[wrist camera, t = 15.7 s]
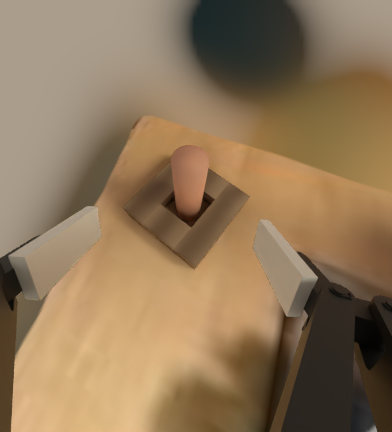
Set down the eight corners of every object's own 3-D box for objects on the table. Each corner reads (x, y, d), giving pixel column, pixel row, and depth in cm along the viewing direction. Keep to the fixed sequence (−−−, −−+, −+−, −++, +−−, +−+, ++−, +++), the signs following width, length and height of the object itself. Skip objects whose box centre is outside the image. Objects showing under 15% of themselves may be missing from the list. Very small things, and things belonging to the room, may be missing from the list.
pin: (204, 208, 31) (217, 158, 19) (190, 225, 30) (193, 184, 18) (186, 194, 32) (187, 139, 20) (171, 211, 31) (162, 162, 19)
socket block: (244, 204, 32) (249, 196, 29) (194, 269, 27) (195, 267, 25) (182, 161, 34) (182, 150, 32) (128, 214, 30) (122, 207, 27)
